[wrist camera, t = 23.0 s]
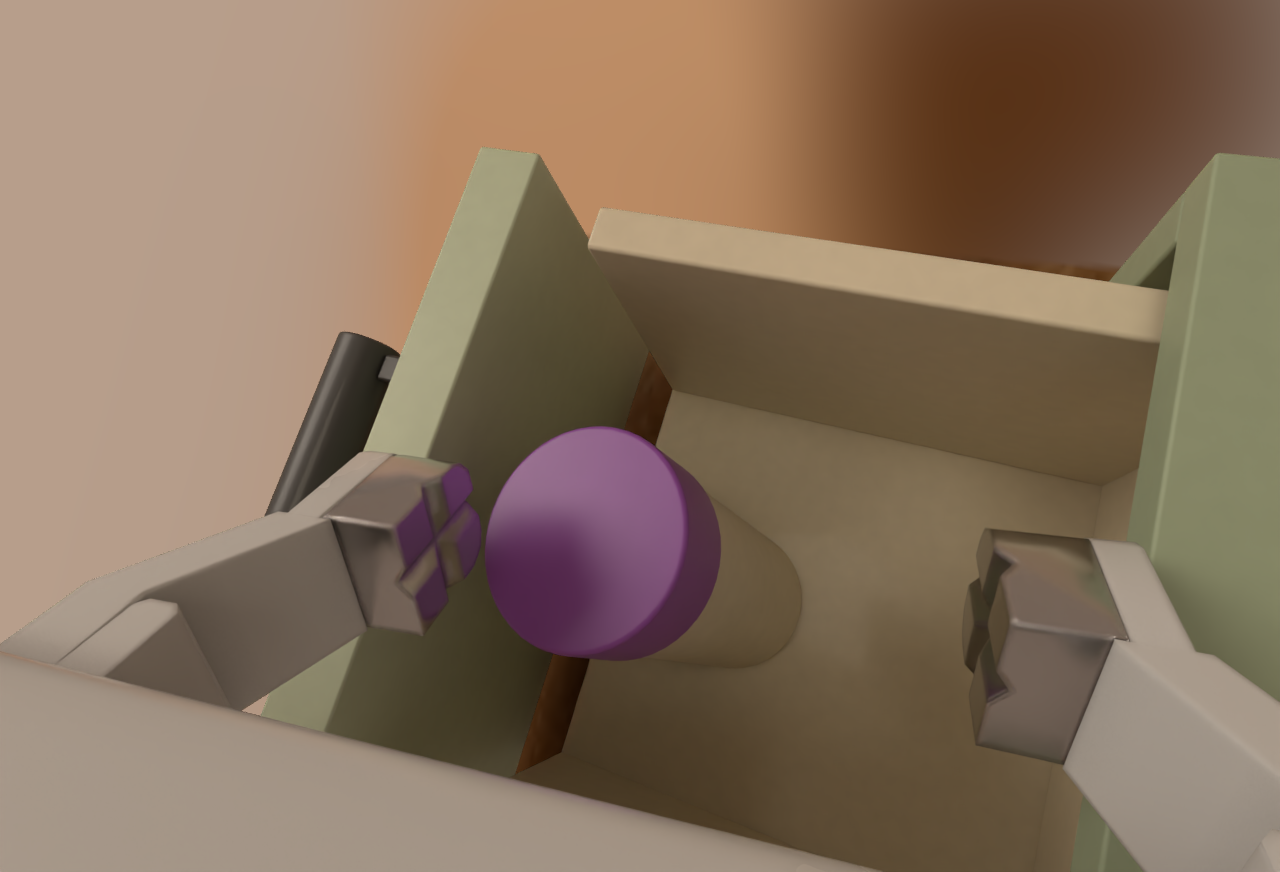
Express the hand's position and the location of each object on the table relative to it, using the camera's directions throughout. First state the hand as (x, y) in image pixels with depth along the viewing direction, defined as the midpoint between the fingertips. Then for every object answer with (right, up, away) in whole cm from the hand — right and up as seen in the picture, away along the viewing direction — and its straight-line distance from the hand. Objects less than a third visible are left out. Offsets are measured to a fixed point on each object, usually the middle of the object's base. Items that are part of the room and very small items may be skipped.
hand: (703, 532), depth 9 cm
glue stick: (+1, -3, +7) cm, 8 cm away
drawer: (+1, -3, +9) cm, 10 cm away
